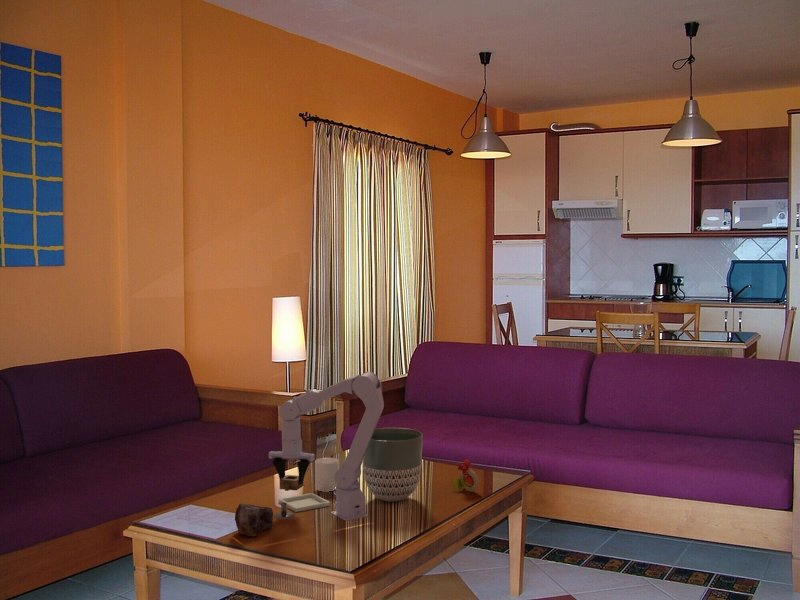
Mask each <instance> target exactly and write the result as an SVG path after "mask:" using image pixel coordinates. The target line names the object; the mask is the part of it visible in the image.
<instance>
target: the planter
mask: <svg viewBox="0 0 800 600" xmlns="http://www.w3.org/2000/svg"><path fill="white" fill-rule="evenodd" d="M423 435H424V433H423V432H421V431H419V430H417V429H412V428H407V427H404V428H403V427H382V428H379V427H378V428H375V430H374V432H373V435H372V437H371V440H370V442H369V444H368V447H367V449H366V452H365V454H364V457H363V462H362V468H363V469H362V470H363V476H364V477H363V478H364V482H365V484H366V486H367V489H368V490H369V491H370V493H371V494H372V495H373V496H374V497H376V498H377V499H379V500H381V501H383V502H390V503H391V502H392V503H393V502H400V501H404V500H405V499H407V498H409V497H410V496H411V495H412V494H413V493H414V492H415V491H416V490H417V488H418V485H419V483H420V480H421V475H422V474H421V471H422V458H423V457H422V455H423V454H422V453H423Z"/></svg>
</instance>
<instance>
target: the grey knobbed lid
mask: <svg viewBox="0 0 800 600" xmlns="http://www.w3.org/2000/svg"><path fill="white" fill-rule="evenodd" d="M287 508H288V507H286V502H283V503H280V509H281V510H280V512H277V513H273V519H274V518H275V519H279V520H287V519H292V518H293V517H295V514H294V512H288V509H287Z"/></svg>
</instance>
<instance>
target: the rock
mask: <svg viewBox="0 0 800 600" xmlns="http://www.w3.org/2000/svg"><path fill="white" fill-rule="evenodd" d="M273 515H274V511H273V509H272V507H268V506H259V505H254V504H250V503H239V504H238V506H237V508H236V510H235V514H234V522H235V526H236V528H237V532H238V533H239V534H240V535H245V536H246V537H249V536H252V537H251V538H255V537H254V536H256V537H257V535H258V534H260V533H263V531H266V530H268V529H272V527H273V525H274V522H273V520H274V517H273Z"/></svg>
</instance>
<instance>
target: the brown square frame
mask: <svg viewBox="0 0 800 600" xmlns="http://www.w3.org/2000/svg"><path fill="white" fill-rule="evenodd" d="M278 479H279V478H278ZM304 485H305V483H302V484H299V475H296V474H295V475H293V474H292V475H291V474H285V476H284V477H283V478H281V479H279V490H284V491H286V492H288V491H298V490H300V489H301V488H303V487H304Z"/></svg>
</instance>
